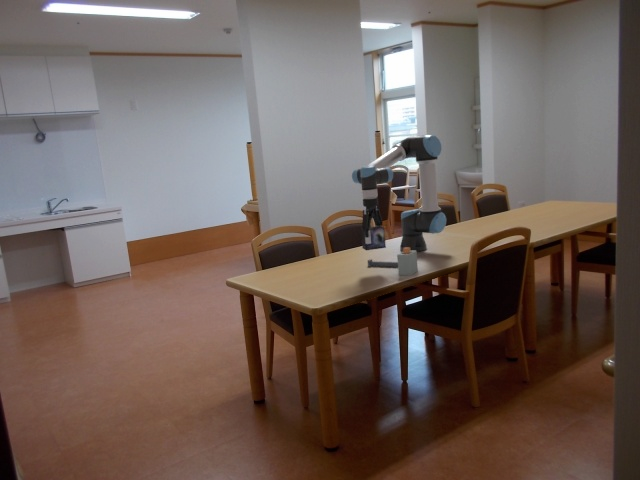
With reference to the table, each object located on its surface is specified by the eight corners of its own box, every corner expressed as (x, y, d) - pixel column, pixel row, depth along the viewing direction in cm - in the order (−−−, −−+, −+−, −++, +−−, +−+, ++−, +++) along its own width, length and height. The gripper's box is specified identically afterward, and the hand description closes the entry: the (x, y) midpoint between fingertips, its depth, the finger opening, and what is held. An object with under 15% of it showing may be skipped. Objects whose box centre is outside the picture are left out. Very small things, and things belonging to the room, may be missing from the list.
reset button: (405, 257, 268) (404, 247, 267) (412, 257, 266) (411, 247, 266) (402, 258, 265) (401, 248, 264) (409, 258, 263) (408, 248, 263)
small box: (366, 250, 270) (364, 230, 268) (362, 248, 276) (360, 228, 274) (386, 247, 272) (384, 227, 270) (381, 245, 278) (380, 225, 276)
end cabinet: (406, 269, 273) (405, 250, 271) (417, 270, 270) (416, 250, 268) (398, 274, 265) (397, 254, 263) (410, 275, 261) (408, 255, 260)
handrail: (370, 265, 290) (369, 259, 289) (410, 266, 278) (410, 260, 277) (368, 266, 288) (367, 260, 287) (409, 267, 276) (408, 261, 275)
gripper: (373, 194, 281) (377, 236, 285) (352, 201, 262) (356, 246, 266) (387, 194, 277) (390, 236, 281) (366, 201, 258) (370, 246, 262)
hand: (373, 241), depth 273 cm, fingers closed on small box, 11 cm apart
